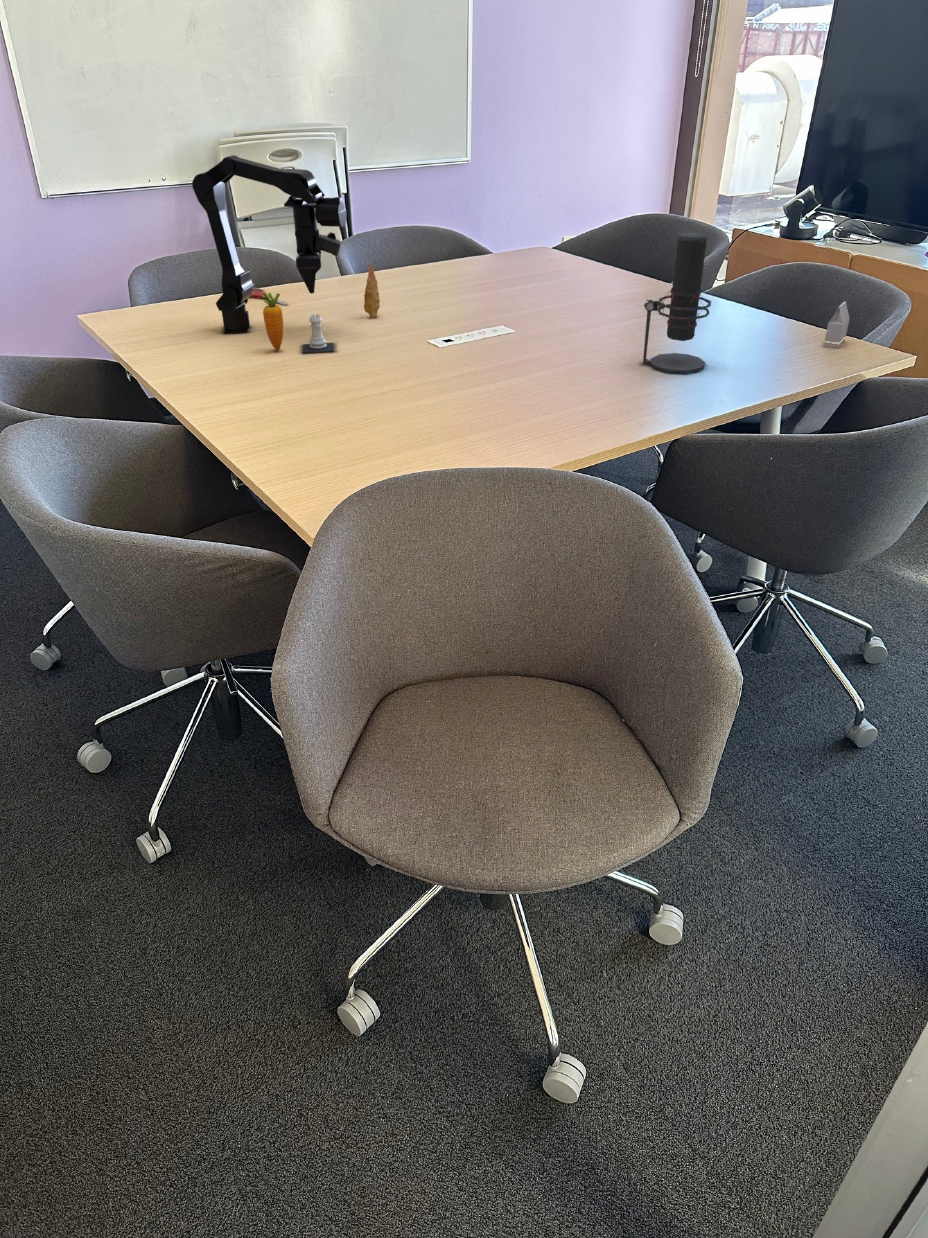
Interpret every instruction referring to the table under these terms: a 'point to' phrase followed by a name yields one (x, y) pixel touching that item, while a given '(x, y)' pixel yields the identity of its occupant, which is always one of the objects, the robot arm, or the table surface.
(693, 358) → the microphone
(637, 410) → the table surface
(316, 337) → the rook chess piece
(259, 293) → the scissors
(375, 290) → the stone tool
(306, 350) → the coaster
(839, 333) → the grey pointed faceted piece
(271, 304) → the carrot
